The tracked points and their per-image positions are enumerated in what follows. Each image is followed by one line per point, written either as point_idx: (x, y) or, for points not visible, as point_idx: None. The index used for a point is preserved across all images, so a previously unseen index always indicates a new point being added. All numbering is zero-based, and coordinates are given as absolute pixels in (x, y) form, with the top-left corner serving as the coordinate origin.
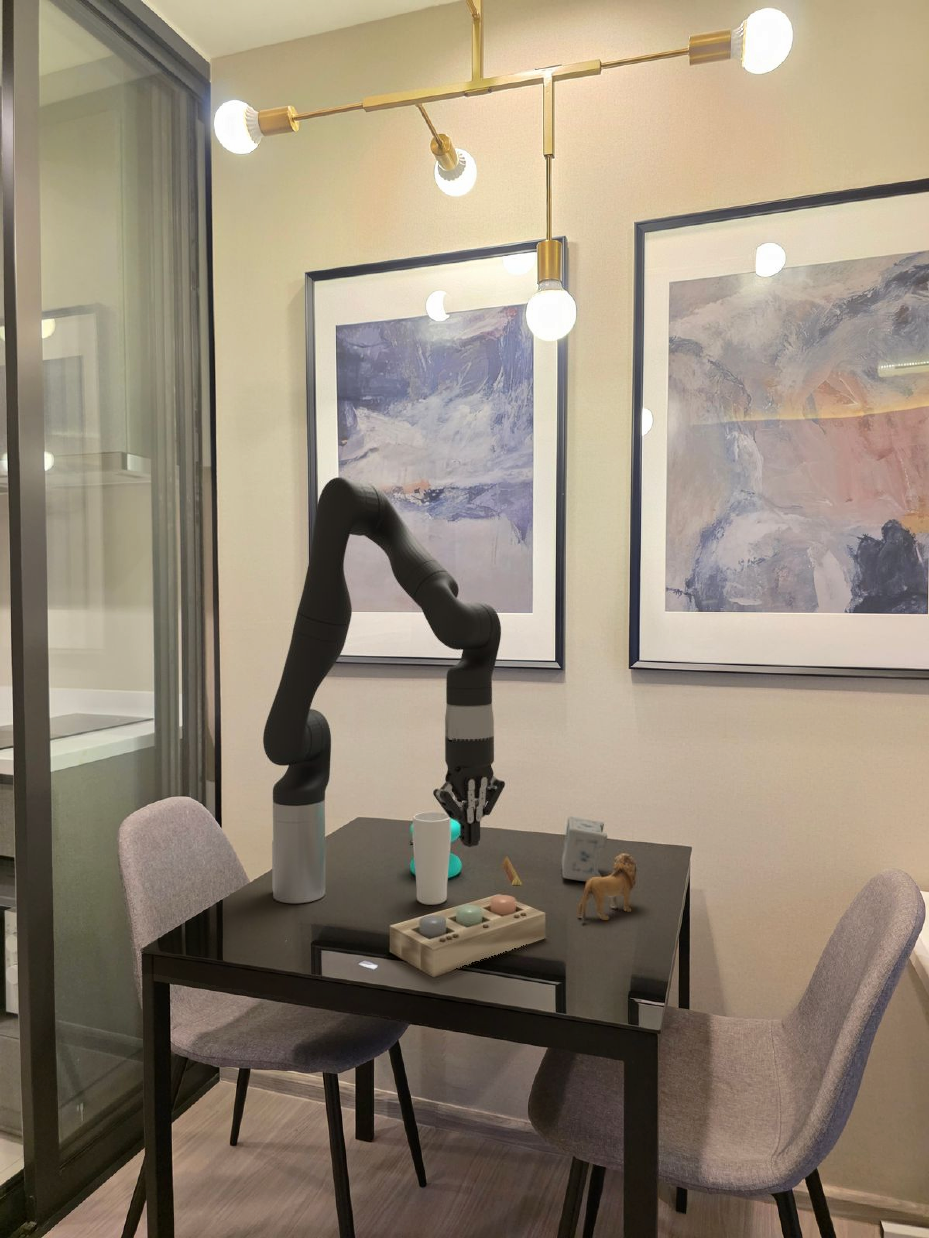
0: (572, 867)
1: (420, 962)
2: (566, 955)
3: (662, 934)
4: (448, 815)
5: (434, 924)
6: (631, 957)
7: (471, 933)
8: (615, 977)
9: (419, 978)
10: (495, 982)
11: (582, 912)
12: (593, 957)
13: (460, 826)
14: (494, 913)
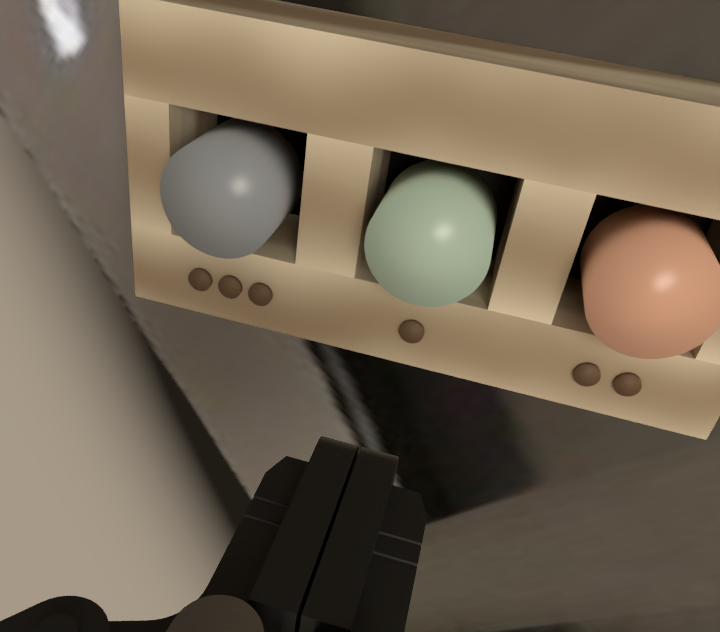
0: None
1: None
2: (584, 475)
3: None
4: (7, 621)
5: (195, 236)
6: (685, 604)
7: (325, 321)
8: (530, 600)
9: None
10: (292, 399)
11: None
12: (619, 534)
13: (218, 565)
14: (582, 268)
